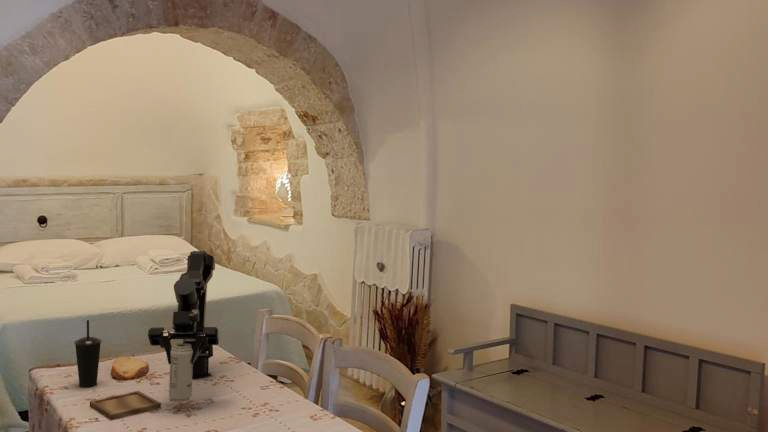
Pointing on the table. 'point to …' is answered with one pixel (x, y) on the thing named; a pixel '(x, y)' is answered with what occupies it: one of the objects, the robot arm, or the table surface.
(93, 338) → the drinking cup
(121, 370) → the bread slice
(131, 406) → the tray
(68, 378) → the table surface
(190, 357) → the energy drink can
